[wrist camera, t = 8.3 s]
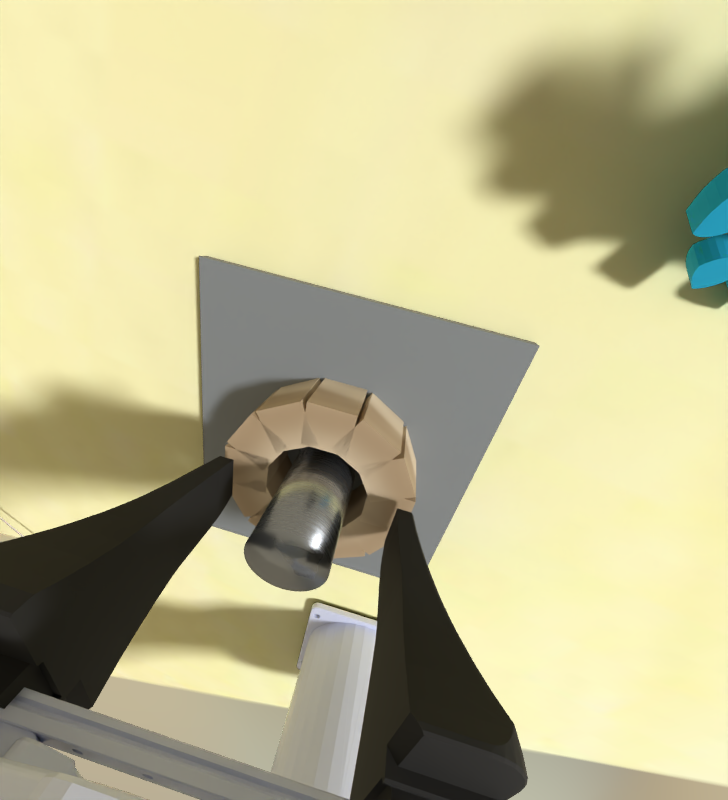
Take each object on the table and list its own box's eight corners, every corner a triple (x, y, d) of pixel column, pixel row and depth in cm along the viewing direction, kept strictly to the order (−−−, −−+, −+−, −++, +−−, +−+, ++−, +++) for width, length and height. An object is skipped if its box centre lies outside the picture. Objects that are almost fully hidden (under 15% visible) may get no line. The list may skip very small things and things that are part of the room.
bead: (388, 536, 17) (384, 577, 15) (248, 493, 18) (223, 527, 16) (437, 409, 14) (441, 439, 11) (257, 359, 14) (226, 378, 12)
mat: (415, 581, 19) (416, 588, 19) (209, 517, 20) (205, 523, 20) (535, 342, 12) (539, 345, 12) (206, 255, 13) (199, 256, 12)
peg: (352, 486, 16) (320, 600, 11) (298, 470, 16) (241, 575, 11) (365, 442, 15) (337, 547, 10) (307, 424, 15) (247, 518, 10)
